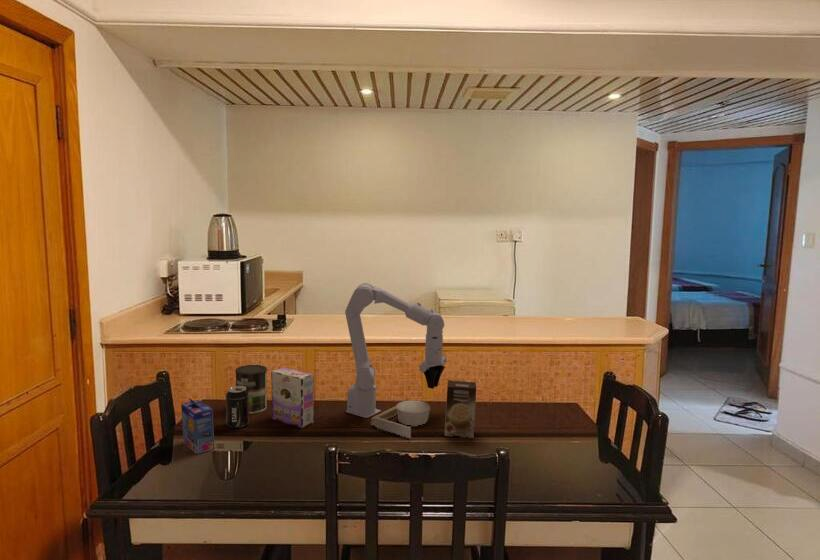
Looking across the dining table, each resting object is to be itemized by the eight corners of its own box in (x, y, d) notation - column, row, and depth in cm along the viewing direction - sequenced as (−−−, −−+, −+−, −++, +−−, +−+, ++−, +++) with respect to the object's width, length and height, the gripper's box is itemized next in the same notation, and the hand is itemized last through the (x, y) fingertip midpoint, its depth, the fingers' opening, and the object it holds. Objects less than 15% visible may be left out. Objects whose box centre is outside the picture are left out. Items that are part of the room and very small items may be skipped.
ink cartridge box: (181, 443, 154) (180, 395, 152) (200, 438, 158) (199, 391, 156) (195, 455, 147) (194, 405, 145) (214, 449, 151) (213, 400, 149)
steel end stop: (375, 428, 168) (375, 417, 167) (376, 427, 168) (377, 417, 168) (409, 439, 161) (409, 428, 160) (410, 438, 161) (410, 427, 161)
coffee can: (259, 415, 176) (258, 374, 174) (230, 412, 178) (229, 372, 176) (272, 404, 186) (271, 365, 184) (244, 402, 188) (244, 363, 186)
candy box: (314, 423, 171) (314, 373, 169) (301, 429, 166) (301, 378, 164) (284, 413, 178) (283, 366, 176) (270, 419, 173) (270, 370, 171)
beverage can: (240, 431, 163) (239, 393, 162) (221, 427, 165) (220, 390, 164) (253, 422, 170) (252, 386, 168) (235, 419, 172) (234, 384, 170)
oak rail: (370, 425, 170) (370, 418, 170) (395, 413, 181) (395, 406, 181) (374, 426, 169) (374, 419, 169) (398, 414, 180) (399, 407, 180)
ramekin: (390, 417, 177) (391, 402, 177) (421, 413, 182) (421, 398, 181) (403, 430, 167) (403, 414, 167) (435, 425, 172) (435, 409, 171)
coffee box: (444, 436, 163) (446, 386, 161) (445, 428, 170) (446, 379, 168) (474, 438, 162) (476, 388, 160) (473, 430, 169) (475, 381, 167)
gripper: (432, 354, 170) (431, 395, 172) (454, 346, 182) (453, 384, 184) (414, 351, 174) (413, 390, 176) (437, 342, 186) (436, 380, 188)
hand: (432, 387), depth 180 cm, fingers closed
